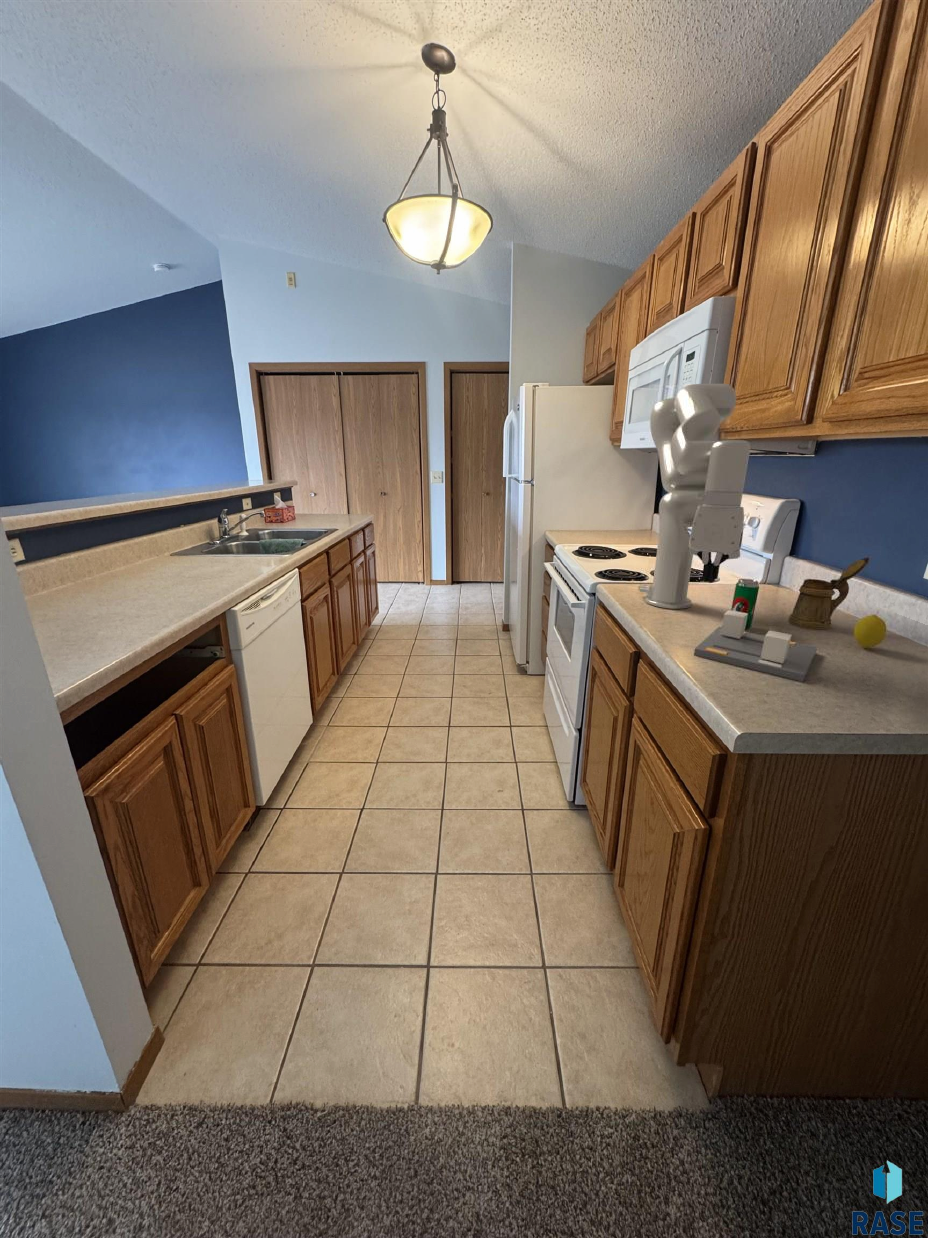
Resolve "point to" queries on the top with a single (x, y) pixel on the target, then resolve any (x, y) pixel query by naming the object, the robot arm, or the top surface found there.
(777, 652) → the front slider
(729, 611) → the back slider
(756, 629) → the top surface
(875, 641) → the lemon
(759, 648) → the switch panel
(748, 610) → the soda can
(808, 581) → the wooden mug
